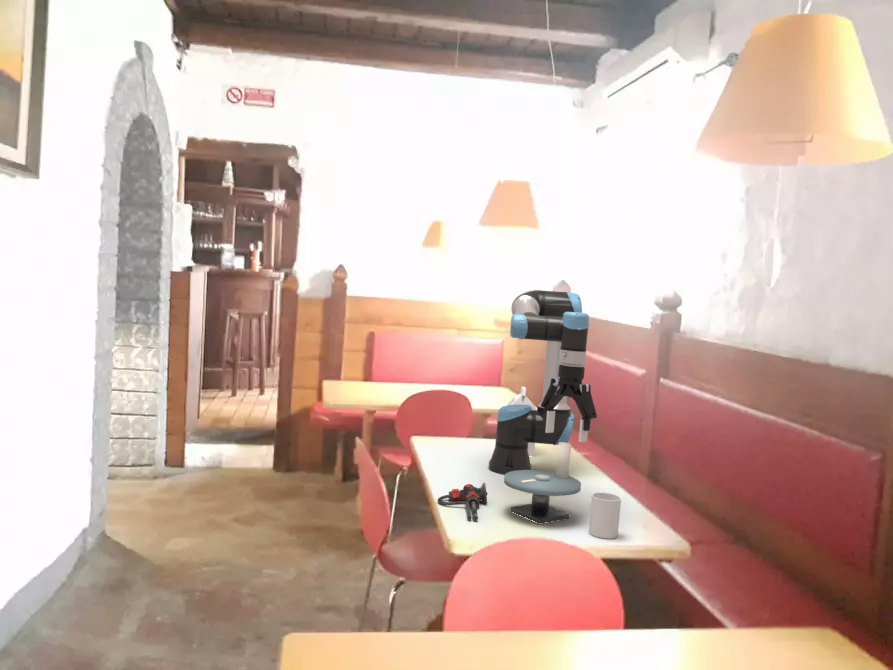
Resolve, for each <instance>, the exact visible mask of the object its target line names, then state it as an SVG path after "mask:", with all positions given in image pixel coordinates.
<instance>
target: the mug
mask: <svg viewBox="0 0 893 670" xmlns="http://www.w3.org/2000/svg"><path fill="white" fill-rule="evenodd" d="M621 502H622V497H621V496H619V495H617V494H614V493H609V492H600V491H595V492H594V493H592V494H591V501H590V509H589V510H590V512H589V521H588V533H589V534H590V535H591V536H593V537H596V538H600V539H608V540H609V539H610V540H611V539H617V538H618V535H619V526H620V516H621V504H622V503H621Z"/></svg>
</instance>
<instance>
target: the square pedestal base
mask: <svg viewBox="0 0 893 670" xmlns="http://www.w3.org/2000/svg"><path fill="white" fill-rule="evenodd" d="M531 496H532V497H531V503H527V504H521V505H516V506H510V510H509V512H510V511H511V512H514V513H516V514H518V515H521V516H523V517H526V518H528V519H530V520H533V521H535V522H537V523H543V524H546V523H545V522H549V523H552V522H551V521H554V522H558V521H557V520H560V521H563V520H564V519H566V520H570V513H568V512H565V511H563V510H561V509H558V508H555V507H553V506H552V505H550V500H551V499H550V497H551V496H547V495H537V494H532V495H531ZM511 512H510V513H511ZM516 514H515V515H516ZM518 515H517V516H518ZM523 517H522V518H523ZM530 520H529V521H530ZM564 521H565V520H564ZM537 523H536V524H537Z"/></svg>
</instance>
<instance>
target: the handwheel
mask: <svg viewBox="0 0 893 670" xmlns="http://www.w3.org/2000/svg"><path fill="white" fill-rule="evenodd" d="M557 449H558V450H557V459H556V462H557V463H556V471H555V472H554V471H547V470H539V469H538V470H537V469H531V470H516V471H511V472H508V473H506V474H503V475H504V476H503V477H504V478H503V483H504V484H505V485H506V486H507V487H509V488H510V489H513V490H515V491H519V492H523V493H526V494H537V495H547V496H550V497H564V496H572V495H576V494H578V493H580V492H581V489H582V488H581V487H582V483H581V481H580V480H579V479H578V478H576V477H573V476H570V465H571V464H570V463H571V461H570V460H571V451H572V443H570V442H568V443H566V442H560V443H559V445H558V447H557Z"/></svg>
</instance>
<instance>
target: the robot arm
mask: <svg viewBox="0 0 893 670" xmlns="http://www.w3.org/2000/svg"><path fill="white" fill-rule="evenodd" d="M582 306H583V305H582V300H581V297H580V295H579V294H578V293H576V292H575V293H574V292H569V291H555V290H554V291H553V290H552V291H551V290H539V289H538V290H537V289H534V290H529V291H526V292H523V293H522V294H519V295H517V296H516V297H515V298H514V300H513V301H512V303H511V314H512V315H511V318H510V329H509V335H510V337H511V338H513V339H519V340H533V341H543V342H545V341H546V350H545V360H544V361H545V364H544V374H543V387H542V399H541V401H540V403H539V402H538V404H537V406H536V407H537V408H536V410H532V408H531V406H529V405H521V404H519V405H508V404H507V405H504V406H501V407H500V408H499V409H498V412H497V418H496V423H497V424H496V434H495V446H494V449H493V451H492V454H491V458H490V459H489V461H488V470H490V471H491V472H493V473H494V472H495V473H497V474H502V475H505V474H506V473H508V472H511V471H516V470H532V464H531V459H530V457H529V454H528V443H535V444H545V445H553V446H559V443H560V442H566V443H570V439H571V436H572V433H573V429H574V423H575V422H574V421H575V415H574V413H573V412H571V407H570V406H569V405H568V403H567V401H568V399H567V398H571V399H572V400H574V402H575V404H576V407H577V409H578V411H579V413H580V415H581V417H582V418H580V420H579V422H580V423H579V432H578V433H579V434H578V442H579V443H587V442H588V437H589V435H588V433H589V431H590V429H591V421H592V420H593V419H596V418H597V417H598V416H597V411H596V408H595V404H594V400H593V397H592V393H591V388H592V387H591V384H589V383H588V384H584V383H583V380H584V378H585V371H586V369H585V367H584V365H586V357H587V346H588V345H587V344H588V343H587V341H588V333H589V326H590V323H589V320H590V317H589V314H588V313H586V312H583V307H582Z"/></svg>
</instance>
